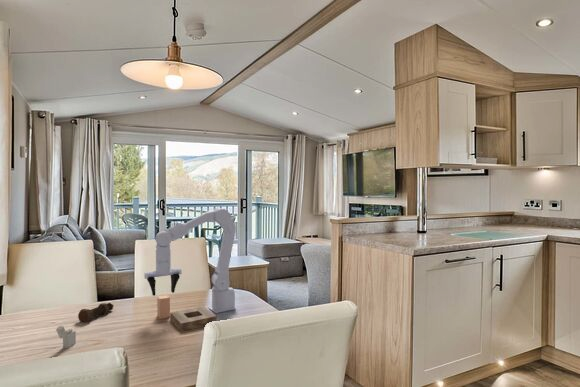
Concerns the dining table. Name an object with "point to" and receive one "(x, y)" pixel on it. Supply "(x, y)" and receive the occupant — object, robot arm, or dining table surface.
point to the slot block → (192, 318)
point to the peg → (163, 306)
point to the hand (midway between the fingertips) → (163, 293)
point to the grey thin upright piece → (67, 336)
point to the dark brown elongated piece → (94, 312)
